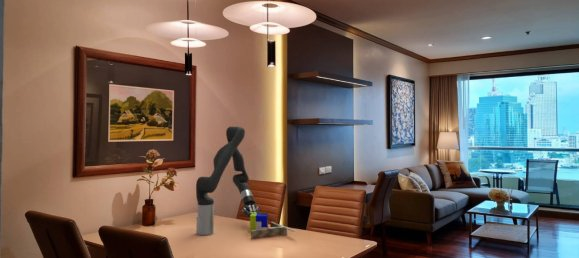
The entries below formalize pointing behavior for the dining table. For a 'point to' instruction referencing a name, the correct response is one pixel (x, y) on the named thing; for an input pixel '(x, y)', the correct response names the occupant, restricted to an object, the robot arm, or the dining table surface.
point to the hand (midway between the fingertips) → (255, 220)
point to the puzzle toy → (258, 221)
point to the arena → (270, 231)
